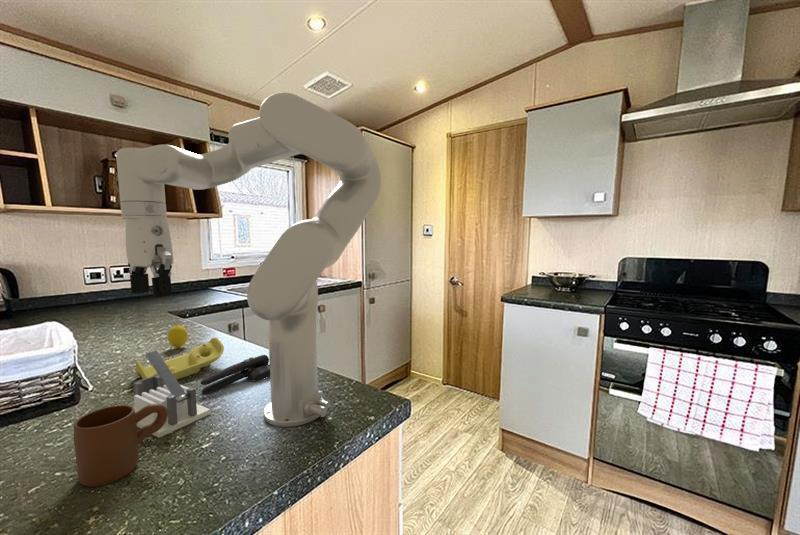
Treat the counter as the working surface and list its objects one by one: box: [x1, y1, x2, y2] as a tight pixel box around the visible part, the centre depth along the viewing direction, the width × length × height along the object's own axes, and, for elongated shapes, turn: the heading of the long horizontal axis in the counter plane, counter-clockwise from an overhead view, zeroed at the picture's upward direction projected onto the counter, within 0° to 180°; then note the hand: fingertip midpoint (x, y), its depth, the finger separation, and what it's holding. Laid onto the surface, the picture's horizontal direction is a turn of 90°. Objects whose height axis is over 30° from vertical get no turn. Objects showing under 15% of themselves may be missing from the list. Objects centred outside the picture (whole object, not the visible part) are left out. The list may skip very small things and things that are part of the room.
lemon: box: [167, 324, 189, 349], centre depth 116 cm, size 6×6×8 cm
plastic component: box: [134, 337, 225, 385], centre depth 96 cm, size 20×7×10 cm
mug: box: [73, 404, 168, 488], centre depth 57 cm, size 12×8×9 cm, turn 133°
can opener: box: [200, 354, 270, 395], centre depth 89 cm, size 18×7×6 cm, turn 138°
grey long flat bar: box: [145, 350, 190, 403], centre depth 72 cm, size 14×3×1 cm
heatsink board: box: [132, 375, 211, 439], centre depth 73 cm, size 15×10×6 cm, turn 60°
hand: (151, 294), depth 73 cm, fingers open, 9 cm apart
